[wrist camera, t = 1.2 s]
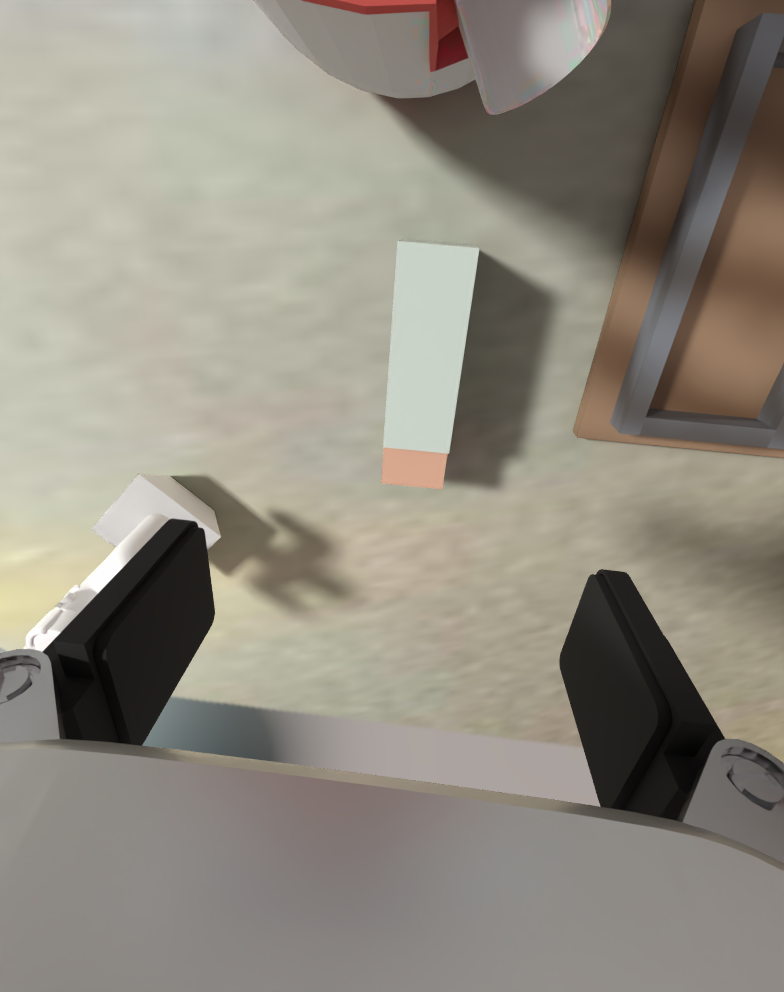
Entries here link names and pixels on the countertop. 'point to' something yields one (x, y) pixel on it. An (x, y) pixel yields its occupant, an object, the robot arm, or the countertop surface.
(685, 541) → the countertop surface
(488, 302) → the countertop surface
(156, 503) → the figurine
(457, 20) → the citrus juicer
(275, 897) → the robot arm
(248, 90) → the countertop surface
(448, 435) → the white bar
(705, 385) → the jig
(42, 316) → the countertop surface
